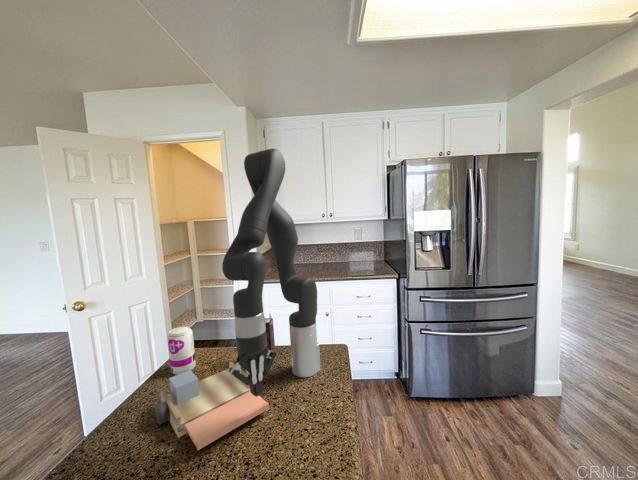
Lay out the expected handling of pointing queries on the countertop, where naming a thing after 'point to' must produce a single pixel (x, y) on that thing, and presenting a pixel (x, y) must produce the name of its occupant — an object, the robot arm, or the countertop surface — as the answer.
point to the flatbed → (201, 400)
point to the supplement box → (270, 334)
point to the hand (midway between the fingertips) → (256, 394)
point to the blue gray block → (184, 387)
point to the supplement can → (181, 350)
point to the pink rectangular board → (225, 419)
